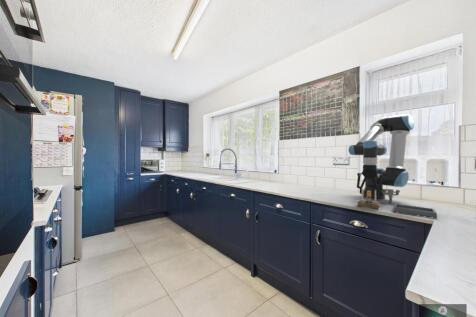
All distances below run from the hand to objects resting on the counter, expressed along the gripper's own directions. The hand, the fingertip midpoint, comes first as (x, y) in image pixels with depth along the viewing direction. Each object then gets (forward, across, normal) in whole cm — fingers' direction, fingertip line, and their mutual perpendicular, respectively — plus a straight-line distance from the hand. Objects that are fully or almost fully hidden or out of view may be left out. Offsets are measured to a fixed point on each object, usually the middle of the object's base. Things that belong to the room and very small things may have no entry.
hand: (368, 199), depth 130 cm
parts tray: (+4, +22, 0) cm, 22 cm away
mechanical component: (+5, +11, +19) cm, 22 cm away
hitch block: (+4, 0, 0) cm, 4 cm away
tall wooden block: (+4, 0, 0) cm, 4 cm away
